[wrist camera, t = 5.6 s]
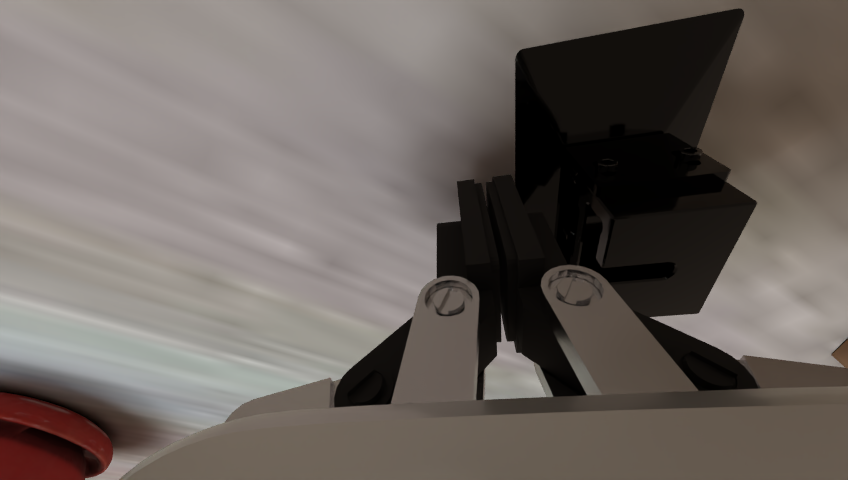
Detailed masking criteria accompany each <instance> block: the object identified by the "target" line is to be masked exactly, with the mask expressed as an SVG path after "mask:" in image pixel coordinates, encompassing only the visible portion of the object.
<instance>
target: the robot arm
mask: <svg viewBox="0 0 848 480" xmlns="http://www.w3.org/2000/svg"><path fill="white" fill-rule="evenodd" d="M457 187H458V197H459V206H460V216H461V221H456V222H447V223H438V224H437V279H434V280H432V281H431V282H429V283H427V284H426V285H425V286H424V287H423V289H422V290H421V292H420V294H419V296H418V300H417V304H416V308H415V312H414V316H413V317H412V318H411V319H409V320H408V321H407V322H406V323H405V324H403V325H402V326H401V327H400V328H399V329H397V330H396V331H395V332H394V333H393V334H391V335H390V336H389V337H388V338H387V339H385V340H384V341H383V342H382V343H381V344H379V345H378V346H377V347H376V348H375V349H374V350H372V351H371V352H370V353H369V354H368V355H366V356H365V357H364V358H363V359H362V360H360V361H359V362H358V363H357V364H356V365H354V366H353V367H352V368H351V369H350V370H349V371H348V372H347V373H346V374H345V375H344V376H343V377H342V379H340V380H336V381H332V380H331V378H328V379H324V380H320V381H317V382H313V383H310V384H306V385H303V386H299V387H296V388H292V389H289V390H285V391H282V392H278V393H274V394H271V395H267V396H264V397H260V398H257V399H253V400H251V401H249V402H247V403H244V404H242V405H241V406H240V407H239V408H237V409H236V410H235V411H234V412H232V414H231V415H230V416H229V417H228V419H227V420H226V421H225V422H224V423H222V424H219V425H216V426H213V427H210V428H207V429H205V430H202V431H200V432H197V433H195V434H193V435H190V436H188V437H186V438H184V439H181V440H179V441H177V442H175V443H172V444H171V445H169V446H167V447H165V448H163V449H161V450H160V451H158V452H156V453H155V454H153V455H151V456H150V457H148V458H147V459H145V460H143V461H142V462H140V463H139V464H138V465H136V466H135V467H134V468H133V469H131V470H130V471H129V472H128V473H126V474H125V475H124V476H123V477H121V478H120V479H119V480H848V368H842V367H834V366H826V365H818V364H810V363H802V362H794V361H786V360H778V359H770V358H762V357H754V356H746V355H743V356H742V358H741V359H740V360H736V359H735V358H733V357H732V356H731V355H729V354H727V353H725V352H723V351H722V350H720V349H718V348H716V347H714V346H711V345H709V344H707V343H705V342H703V341H700V340H698V339H696V338H694V337H692V336H689V335H687V334H685V333H683V332H681V331H678V330H676V329H674V328H672V327H670V326H667V325H665V324H663V323H661V322H658V321H656V320H654V319H652V318H650V317H647V316H645V315H643V314H641V313H639V312H636V311H634V310H632V309H630V308H629V307H628V305H627V304H626V303H625V302H624V301H623V299H622V298H621V297H620V296H619V295H618V293H617V292H616V291H615V290H614V289H613V287H612V286H611V285H610V284H609V283H608V281H607V280H606V279H605V278H603V277H602V276H601V275H600V274H599V273H597V272H595V271H593V270H591V269H588V268H585V267H582V266H575V265H568V264H567V262H566V260H565V258H564V256H563V254H562V252H561V249H560V247H559V245H558V243H557V241H556V239H555V237H554V235H553V233H552V231H551V229H550V227H549V225H548V223H547V221H546V219H545V217H544V215H543V213H541V212H537V213H528V214H527V213H526V210H525V208H524V205H523V203H522V200H521V198H520V196H519V193H518V191H517V188H516V186H515V183H514V181H513V178H512V176H511V175H505V176H497V177H493V178H492V182H486V192H487V206H486V201H485V197H484V193H483V189H482V184H481V183H478V184H475V182H474V179H473V180H465V181H457ZM501 315H502V320H503V325H504V330H505V335H506V339H507V342H508V341H514V344H515V348H516V353H522V354H523V355H524V356H526V357H527V358H529V359H530V360H532V361H533V362H534V367H535V371H536V374H537V376H538V378H539V380H540V383H541V385H542V387H543V390H544V392H545V394H546V397H539V398H517V399H494V400H484V399H485V368H486V367H487V366H488V365H489V364H490V362H491V361H492V360H493V359H494V358H495V357H496V356H497V342H501Z"/></svg>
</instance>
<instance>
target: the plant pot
mask: <svg viewBox="0 0 848 480" xmlns="http://www.w3.org/2000/svg"><path fill="white" fill-rule="evenodd" d="M112 456H113V447H112V443H111V441H110V439H109V437H108V436H107V434H106V433H105V432H104V431H102V430H101V429H100V428H99V427H98V426H97V425H95V424H94V423H93V422H91V421H90V420H88V419H87V418H85V417H83V416H81V415H80V414H77V413H75V412H73V411H71V410H69V409H66V408H64V407H61V406H58V405H55V404H52V403H48V402H45V401H42V400H38V399H35V398H30V397H26V396H21V395H16V394H10V393H3V392H0V480H85V478H90V477H94V476H97V475H99V474H101V473H103V472H104V471H105V470H106V469H107V468H108V466H109V464H110V463H111V460H112Z"/></svg>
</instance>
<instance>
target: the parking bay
mask: <svg viewBox="0 0 848 480" xmlns="http://www.w3.org/2000/svg"><path fill="white" fill-rule="evenodd" d="M832 356H833V357H834V358H835V359H837V360H838V361H839V362H840V363H841V364H842V365H843V366H844V367H845V368H848V339H847V340H846V341H845V342H844V343H843V344H842V345H841V346H840V347H839V348H838V349H837V350H836V351H835V352H834V353H833V354H832Z"/></svg>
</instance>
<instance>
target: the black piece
mask: <svg viewBox="0 0 848 480" xmlns="http://www.w3.org/2000/svg"><path fill="white" fill-rule="evenodd" d="M743 17H744V11H743V10H742V9H733V10H728V11H722V12H717V13H712V14H707V15H701V16H696V17H691V18H685V19H680V20H675V21H669V22H664V23H659V24H653V25H648V26H643V27H638V28H632V29H627V30H622V31H616V32H611V33H606V34H600V35H595V36H590V37H584V38H579V39H574V40H569V41H563V42H558V43H553V44H547V45H542V46H537V47H531V48H526V49H522V50H520V51H519V52H518V53H517V55H516V59H515V186H516V188H517V191H518V193H519V196H520V198H521V200H522V203H523V205H524V208H525V210H526V213H527V214H528V213H537V212H541V213H543V215H544V217H545V219H546V221H547V223H548V225H549V227H550V229H551V231H552V233H553V235H554V237H555V239H556V241H557V243H558V245H559V247H560V249H561V252H562V254H563V256H564V258H565V260H566V262H567V264H568V265H575V266H582V267H585V268H588V269H591V270H593V271H595V272H597V273H599V274H600V275H601V276H602V277H603V278H605V279H606V280H607V281H608V283H609V284H610V285H611V286H612V287H613V289H614V290H615V291H616V292H617V293H618V295H619V296H620V297H621V298H622V299H623V301H624V302H625V303H626V304H627V305H628V307H629V308H630V309H632V310H634V311H636V312H639V313H641V314H643V315H645V316H647V317H656V316H670V315H683V314H697V313H699V312H700V310H701V308H702V306H703V304H704V302H705V300H706V299H707V297H708V295H709V293H710V291H711V289H712V287H713V285H714V283H715V282H716V280H717V278H718V276H719V274H720V272H721V270H722V268H723V267H724V265H725V263H726V261H727V259H728V257H729V255H730V253H731V252H732V250H733V248H734V246H735V244H736V242H737V240H738V238H739V237H740V235H741V233H742V231H743V229H744V227H745V225H746V223H747V222H748V220H749V218H750V216H751V214H752V212H753V210H754V208H755V207H756V205H757V202H756V201H755V200H753V199H752V198H750V197H749V196H747V195H746V194H744V193H743V192H741V191H739V190H738V189H736V188H735V187H733V186H732V185H730V184H729V183H727V182H726V180H727V178H728V176H729V173H730V171H731V169H729V168H727V167H726V166H724V165H722V164H721V163H719V162H717V161H716V160H714V159H712V158H711V157H709V156H707V155H706V154H704V153H702V152H703V151H702V150H701V149H699V148H697V145H698V142H699V139H700V137H701V134H702V131H703V128H704V126H705V123H706V120H707V117H708V114H709V112H710V109H711V106H712V103H713V101H714V98H715V95H716V92H717V89H718V87H719V84H720V81H721V78H722V76H723V73H724V70H725V67H726V64H727V62H728V59H729V56H730V53H731V51H732V48H733V45H734V42H735V40H736V37H737V34H738V31H739V28H740V26H741V23H742V20H743Z"/></svg>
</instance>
